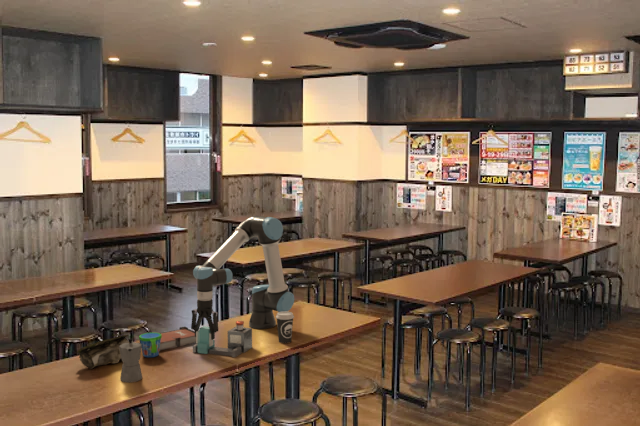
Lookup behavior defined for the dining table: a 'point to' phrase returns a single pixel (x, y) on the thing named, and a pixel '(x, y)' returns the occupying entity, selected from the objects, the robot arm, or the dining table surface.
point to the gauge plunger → (239, 325)
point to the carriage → (204, 340)
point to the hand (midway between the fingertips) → (204, 344)
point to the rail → (221, 351)
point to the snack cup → (150, 344)
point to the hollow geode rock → (102, 352)
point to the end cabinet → (240, 339)
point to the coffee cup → (284, 326)
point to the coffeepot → (130, 361)
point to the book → (177, 338)
